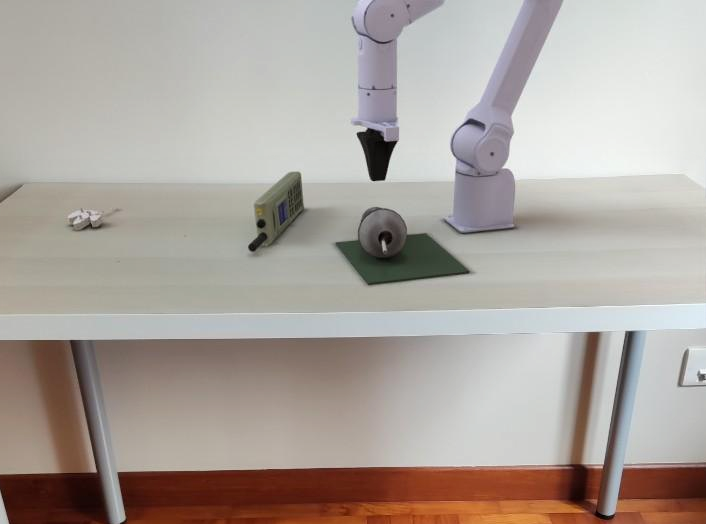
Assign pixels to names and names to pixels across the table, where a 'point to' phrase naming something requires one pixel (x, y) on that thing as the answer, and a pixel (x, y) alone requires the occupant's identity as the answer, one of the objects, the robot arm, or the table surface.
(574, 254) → the table surface
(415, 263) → the mat
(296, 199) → the handheld radio
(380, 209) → the beverage cup
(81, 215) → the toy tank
